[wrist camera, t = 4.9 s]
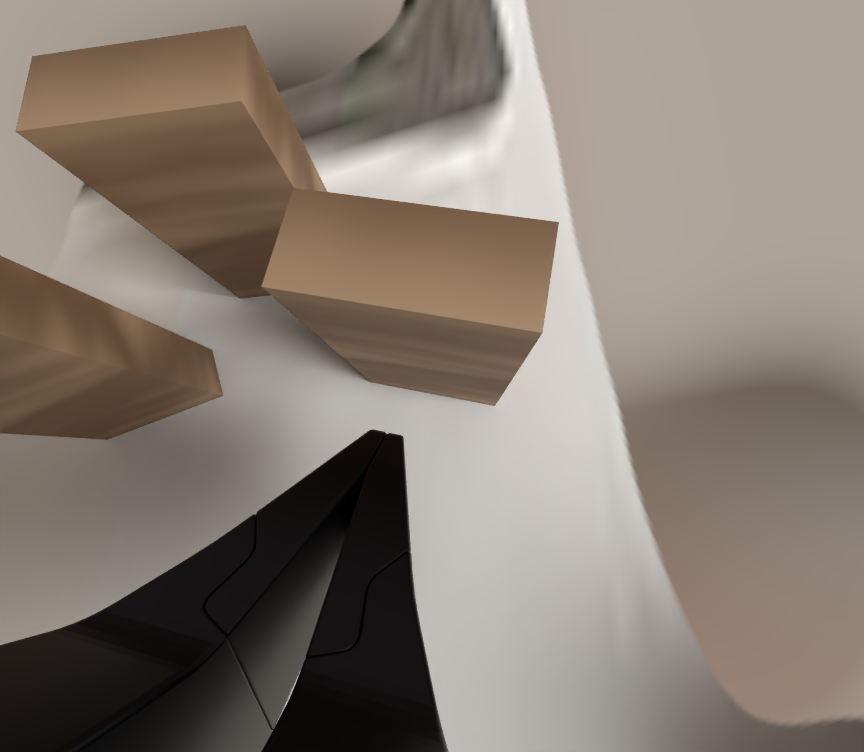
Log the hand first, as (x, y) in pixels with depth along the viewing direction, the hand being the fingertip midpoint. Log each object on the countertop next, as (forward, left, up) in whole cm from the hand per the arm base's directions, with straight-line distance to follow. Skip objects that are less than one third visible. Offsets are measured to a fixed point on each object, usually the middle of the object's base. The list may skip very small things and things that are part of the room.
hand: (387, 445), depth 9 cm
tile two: (-8, +11, -8) cm, 15 cm away
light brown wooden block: (+1, +11, -8) cm, 14 cm away
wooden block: (+3, +2, -8) cm, 9 cm away
